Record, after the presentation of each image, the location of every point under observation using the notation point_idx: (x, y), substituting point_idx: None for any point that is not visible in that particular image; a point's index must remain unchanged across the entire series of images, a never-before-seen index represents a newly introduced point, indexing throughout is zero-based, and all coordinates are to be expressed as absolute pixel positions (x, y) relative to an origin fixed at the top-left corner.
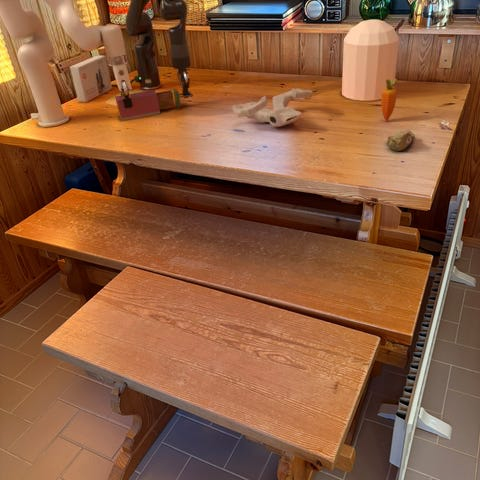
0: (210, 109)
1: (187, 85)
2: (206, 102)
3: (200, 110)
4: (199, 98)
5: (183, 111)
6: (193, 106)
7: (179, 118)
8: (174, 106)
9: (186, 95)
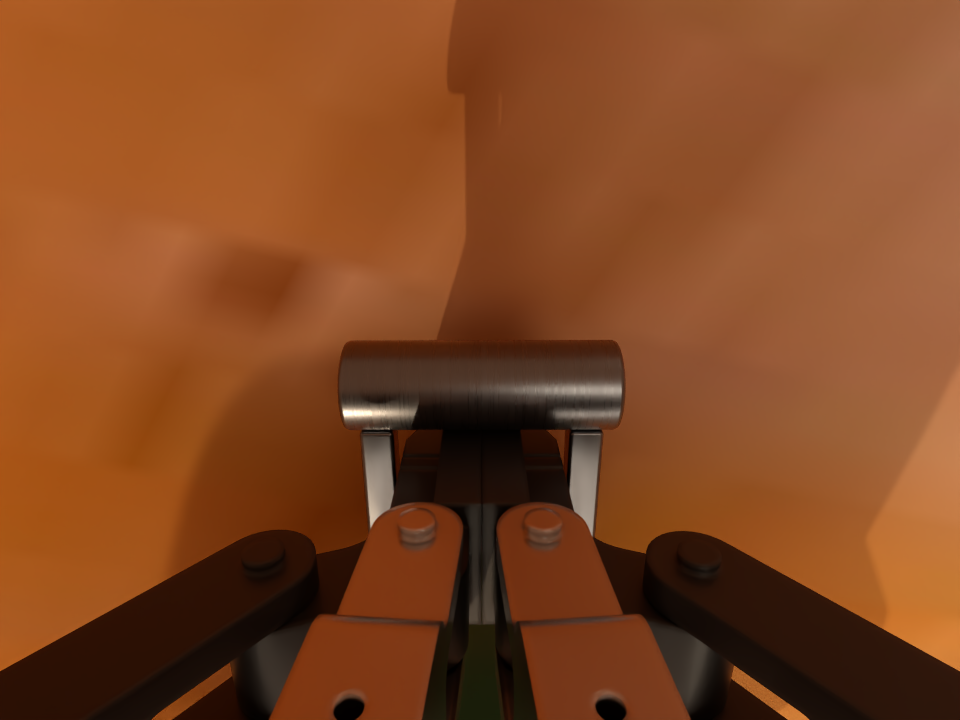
0: (942, 54)
1: (713, 628)
2: (491, 3)
3: (848, 241)
4: (161, 71)
5: (695, 478)
6: (568, 296)
7: (926, 574)
8: None
9: (598, 492)
